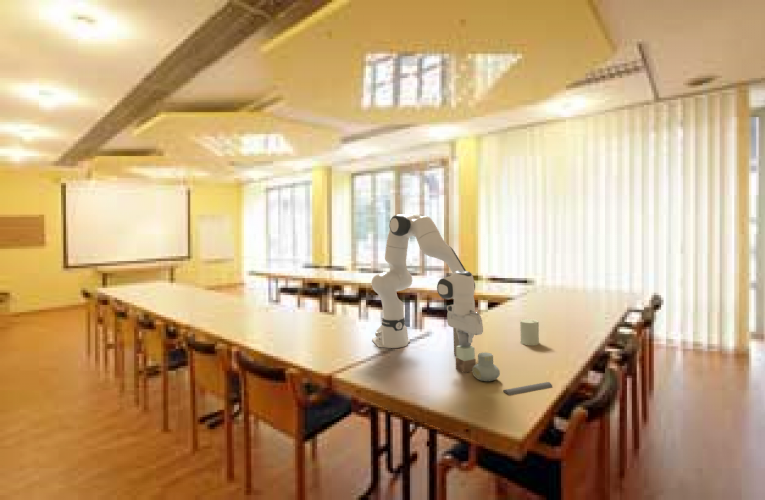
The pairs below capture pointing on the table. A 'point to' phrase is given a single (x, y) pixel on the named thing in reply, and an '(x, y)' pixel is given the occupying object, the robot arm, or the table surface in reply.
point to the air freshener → (485, 368)
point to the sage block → (465, 352)
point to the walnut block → (465, 365)
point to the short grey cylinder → (463, 339)
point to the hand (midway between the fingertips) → (465, 340)
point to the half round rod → (528, 388)
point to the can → (529, 331)
